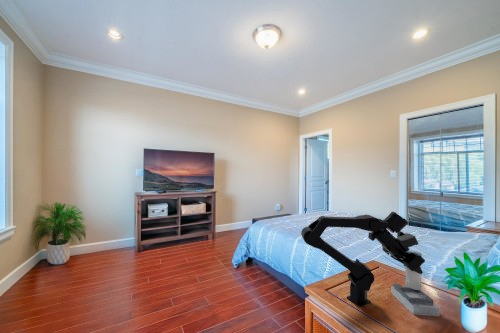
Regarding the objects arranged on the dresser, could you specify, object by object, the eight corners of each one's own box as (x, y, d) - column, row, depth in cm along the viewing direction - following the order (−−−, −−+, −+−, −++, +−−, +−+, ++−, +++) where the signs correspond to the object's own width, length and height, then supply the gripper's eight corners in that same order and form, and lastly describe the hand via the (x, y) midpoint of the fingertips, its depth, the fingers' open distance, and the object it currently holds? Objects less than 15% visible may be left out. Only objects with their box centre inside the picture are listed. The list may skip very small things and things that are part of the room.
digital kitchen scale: (413, 314, 77) (413, 302, 78) (391, 292, 91) (391, 283, 91) (439, 316, 77) (439, 304, 77) (413, 294, 91) (413, 284, 91)
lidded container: (410, 289, 82) (410, 254, 82) (402, 282, 87) (402, 249, 87) (425, 290, 81) (424, 255, 82) (415, 283, 87) (415, 250, 87)
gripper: (419, 233, 76) (452, 266, 75) (389, 221, 94) (416, 248, 93) (395, 254, 76) (428, 287, 75) (371, 238, 95) (397, 265, 94)
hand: (416, 270), depth 84 cm, fingers closed on lidded container, 5 cm apart
